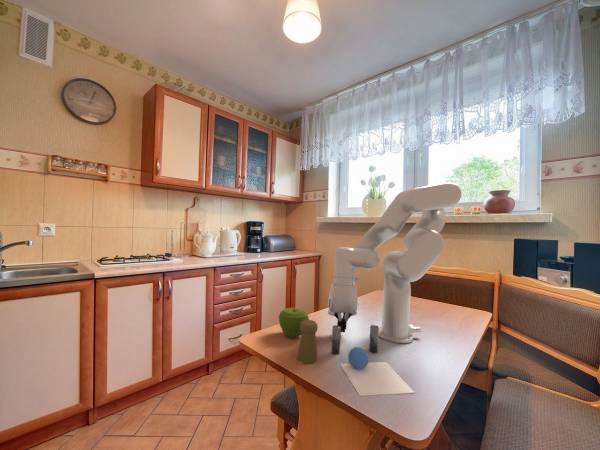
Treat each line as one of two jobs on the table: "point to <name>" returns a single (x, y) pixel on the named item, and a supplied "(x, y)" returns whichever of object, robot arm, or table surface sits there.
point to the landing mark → (376, 380)
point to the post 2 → (373, 339)
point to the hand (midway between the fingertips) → (341, 330)
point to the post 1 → (336, 339)
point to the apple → (292, 321)
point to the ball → (358, 357)
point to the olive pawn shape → (307, 342)
